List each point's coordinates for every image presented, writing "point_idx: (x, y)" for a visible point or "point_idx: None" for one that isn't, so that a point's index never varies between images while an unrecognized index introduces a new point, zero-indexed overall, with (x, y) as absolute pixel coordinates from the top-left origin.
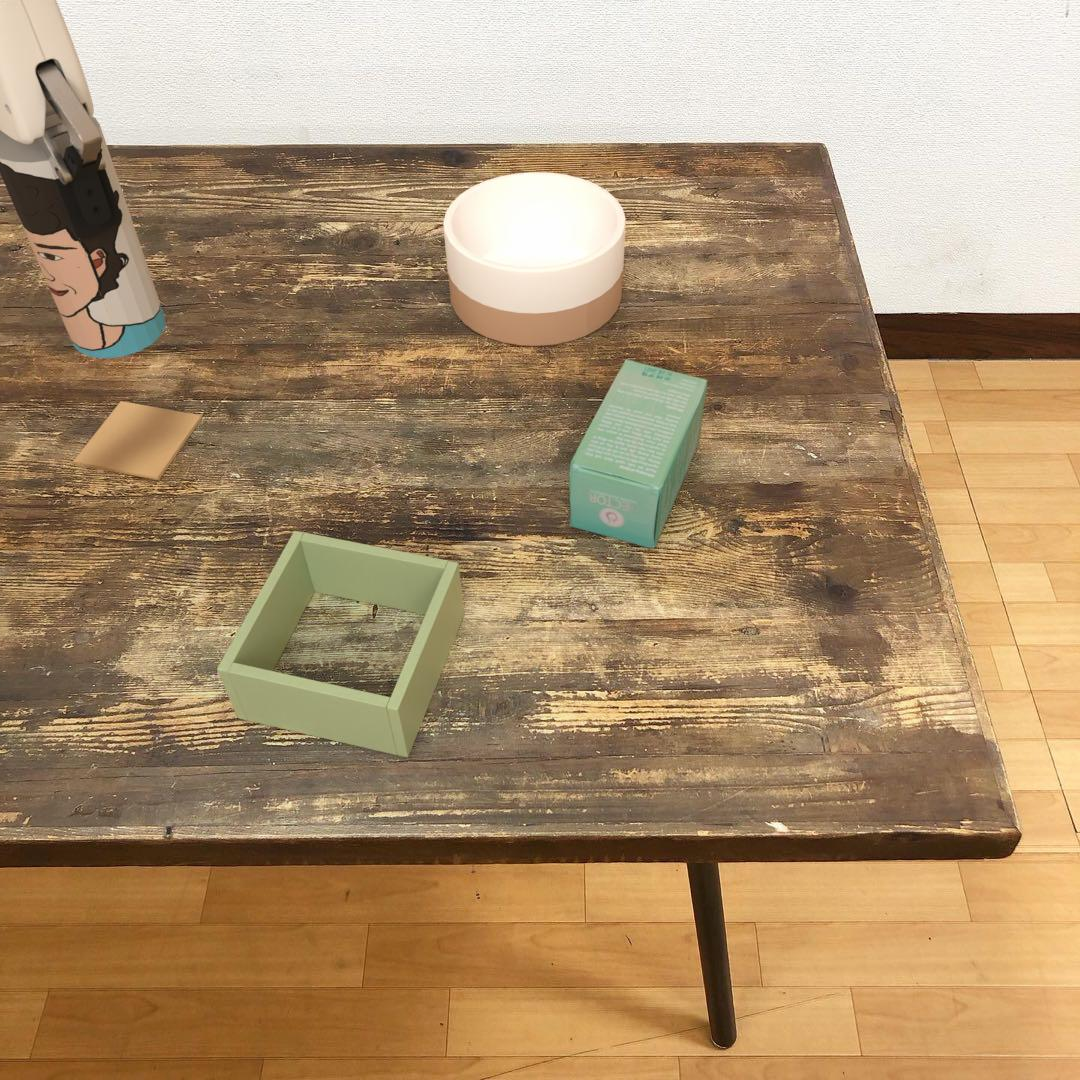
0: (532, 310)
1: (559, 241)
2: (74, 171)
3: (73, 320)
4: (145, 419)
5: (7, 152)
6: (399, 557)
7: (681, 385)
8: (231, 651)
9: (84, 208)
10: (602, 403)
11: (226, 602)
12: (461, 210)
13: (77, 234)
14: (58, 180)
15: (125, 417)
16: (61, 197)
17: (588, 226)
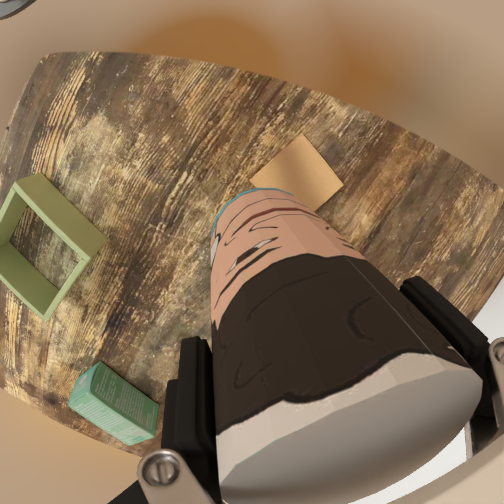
0: None
1: None
2: (129, 493)
3: (238, 210)
4: (314, 193)
5: (361, 420)
6: (54, 301)
7: (128, 440)
8: (21, 192)
9: (165, 407)
10: (126, 419)
11: (114, 187)
12: None
13: (181, 344)
14: (190, 445)
15: (325, 181)
16: (178, 409)
17: None
